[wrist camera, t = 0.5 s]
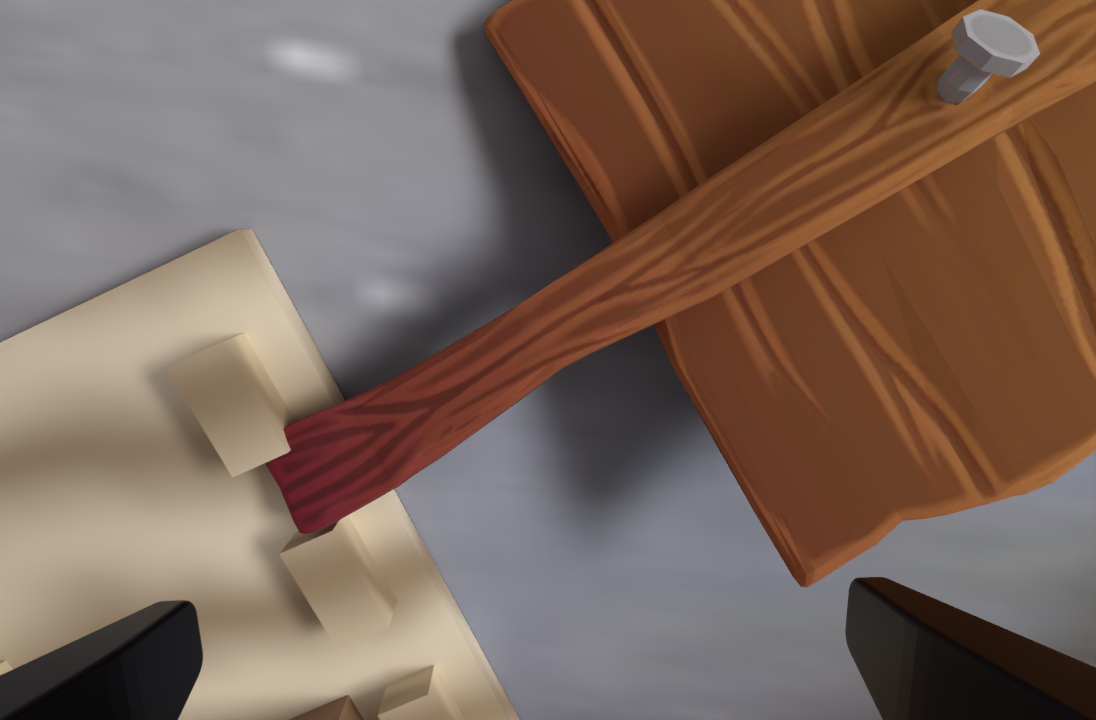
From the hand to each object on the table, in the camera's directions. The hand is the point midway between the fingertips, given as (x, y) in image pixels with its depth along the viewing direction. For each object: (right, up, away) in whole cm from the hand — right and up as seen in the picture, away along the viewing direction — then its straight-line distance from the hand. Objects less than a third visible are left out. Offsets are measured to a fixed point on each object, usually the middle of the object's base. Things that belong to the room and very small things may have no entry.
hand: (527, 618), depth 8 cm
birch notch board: (-13, -7, +15) cm, 21 cm away
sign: (+5, +6, +11) cm, 13 cm away
